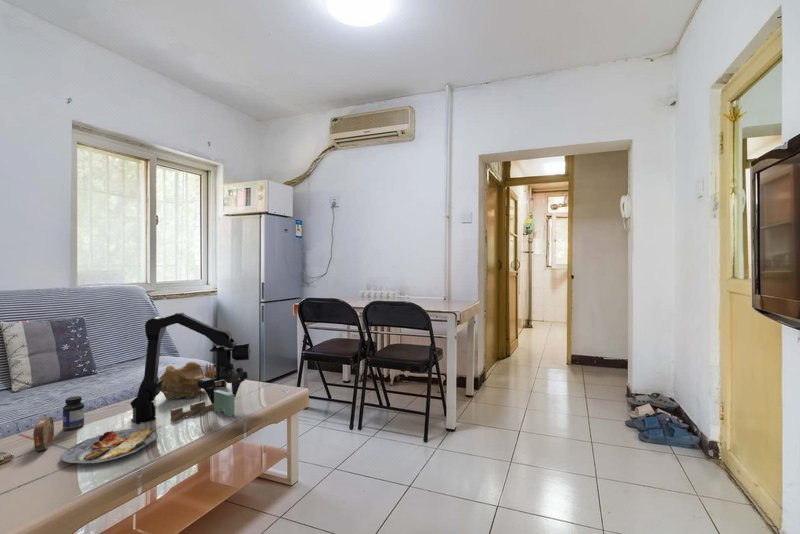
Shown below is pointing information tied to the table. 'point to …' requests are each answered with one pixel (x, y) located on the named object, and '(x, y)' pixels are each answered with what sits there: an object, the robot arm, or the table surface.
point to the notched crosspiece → (224, 402)
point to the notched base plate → (191, 410)
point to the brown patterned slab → (43, 434)
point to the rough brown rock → (181, 381)
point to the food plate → (110, 445)
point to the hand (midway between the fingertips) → (223, 400)
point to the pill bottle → (73, 413)
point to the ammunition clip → (211, 375)
